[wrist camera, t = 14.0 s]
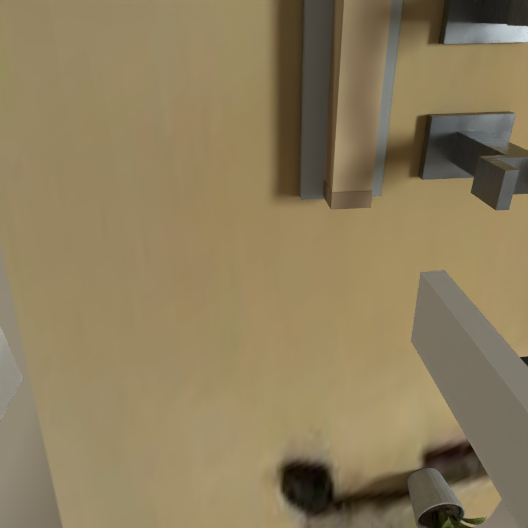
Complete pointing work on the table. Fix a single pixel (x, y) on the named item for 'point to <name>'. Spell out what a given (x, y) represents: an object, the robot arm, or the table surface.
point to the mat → (317, 94)
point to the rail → (354, 100)
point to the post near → (484, 21)
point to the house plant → (436, 501)
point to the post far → (476, 154)
